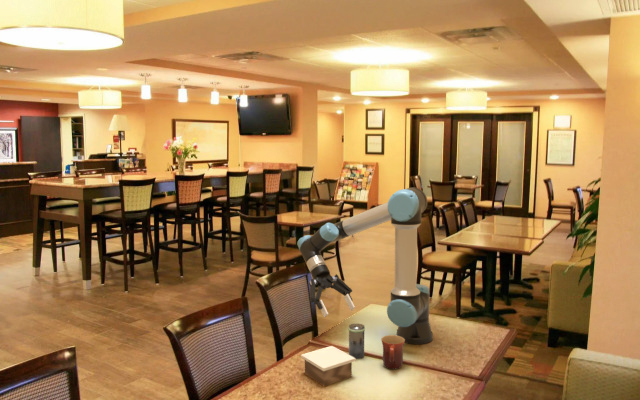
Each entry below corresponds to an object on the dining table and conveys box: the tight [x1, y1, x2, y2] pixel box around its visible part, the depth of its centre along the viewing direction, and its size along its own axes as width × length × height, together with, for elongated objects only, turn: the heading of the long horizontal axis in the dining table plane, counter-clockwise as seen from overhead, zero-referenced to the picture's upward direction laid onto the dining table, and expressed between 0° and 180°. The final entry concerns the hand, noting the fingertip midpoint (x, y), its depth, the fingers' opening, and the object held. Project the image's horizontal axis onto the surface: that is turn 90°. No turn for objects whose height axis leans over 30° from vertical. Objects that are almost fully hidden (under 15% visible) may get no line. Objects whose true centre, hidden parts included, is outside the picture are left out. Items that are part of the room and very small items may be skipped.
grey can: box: [348, 323, 366, 360], centre depth 200 cm, size 6×6×12 cm
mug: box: [380, 334, 405, 370], centre depth 190 cm, size 12×9×10 cm
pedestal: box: [300, 345, 357, 387], centre depth 184 cm, size 14×14×7 cm
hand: (339, 312), depth 208 cm, fingers open, 13 cm apart
